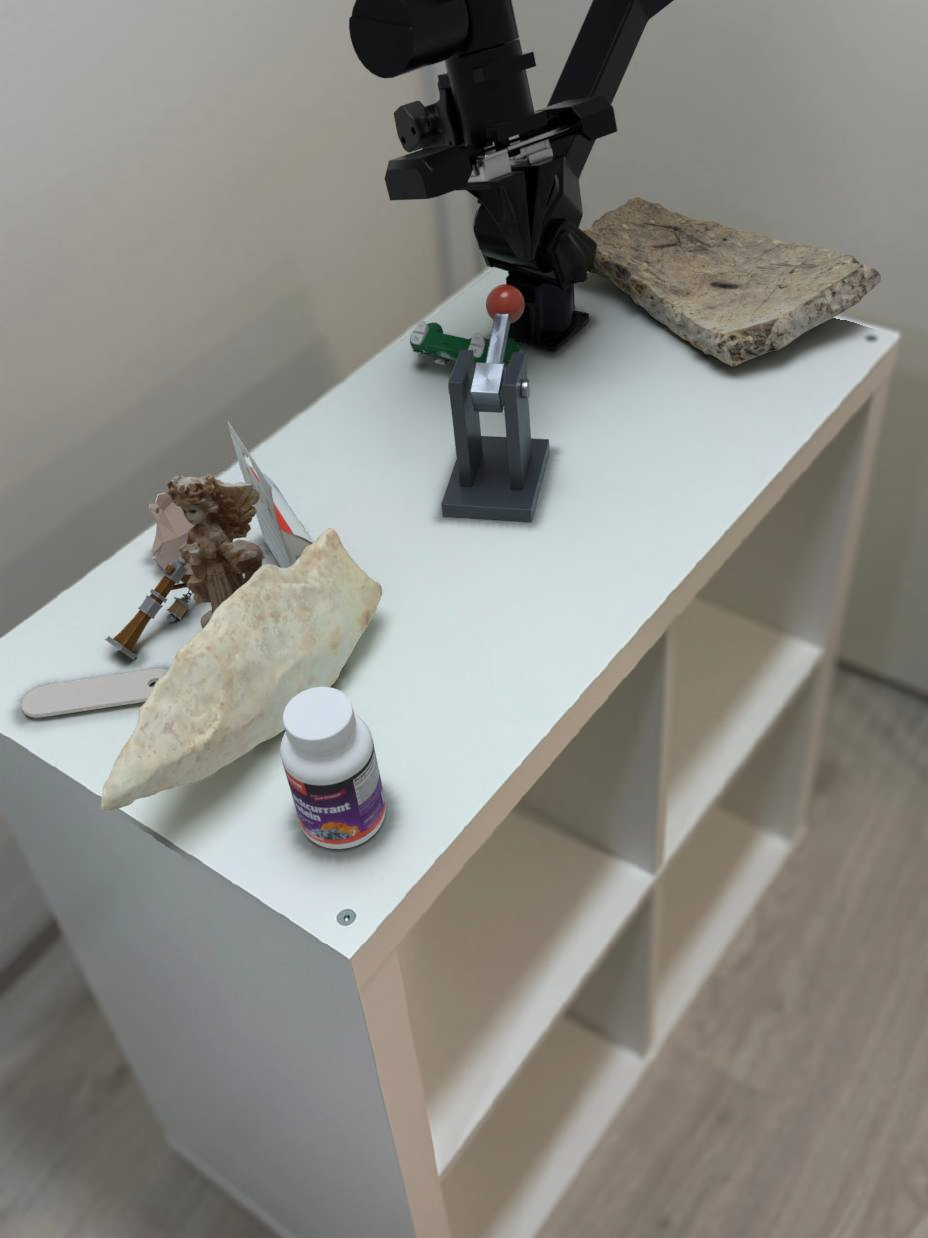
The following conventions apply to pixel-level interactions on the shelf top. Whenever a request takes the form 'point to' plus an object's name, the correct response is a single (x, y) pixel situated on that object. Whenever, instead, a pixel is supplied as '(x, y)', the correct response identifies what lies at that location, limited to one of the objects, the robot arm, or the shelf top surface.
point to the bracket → (494, 450)
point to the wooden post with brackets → (155, 607)
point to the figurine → (216, 536)
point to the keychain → (90, 693)
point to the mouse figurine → (169, 531)
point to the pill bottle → (331, 769)
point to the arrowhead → (246, 670)
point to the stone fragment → (723, 279)
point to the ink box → (273, 511)
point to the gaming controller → (453, 344)
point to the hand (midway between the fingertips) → (526, 259)
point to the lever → (496, 349)
